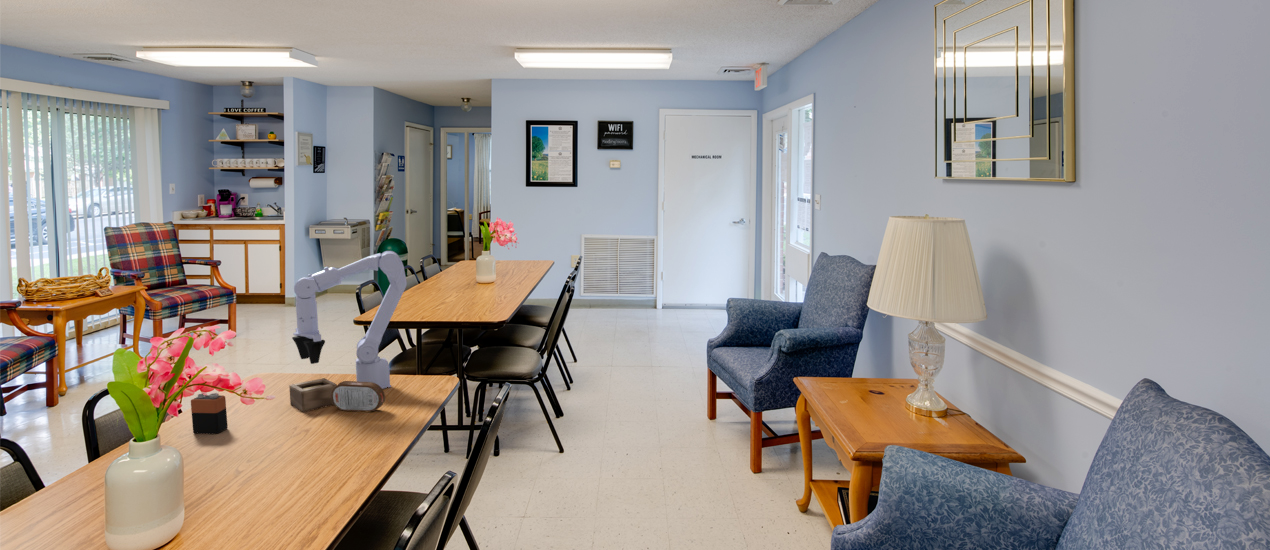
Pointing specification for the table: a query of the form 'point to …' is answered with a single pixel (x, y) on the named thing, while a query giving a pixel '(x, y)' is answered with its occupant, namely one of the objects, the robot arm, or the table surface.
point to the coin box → (311, 394)
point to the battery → (209, 413)
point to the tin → (358, 396)
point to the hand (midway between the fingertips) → (309, 360)
